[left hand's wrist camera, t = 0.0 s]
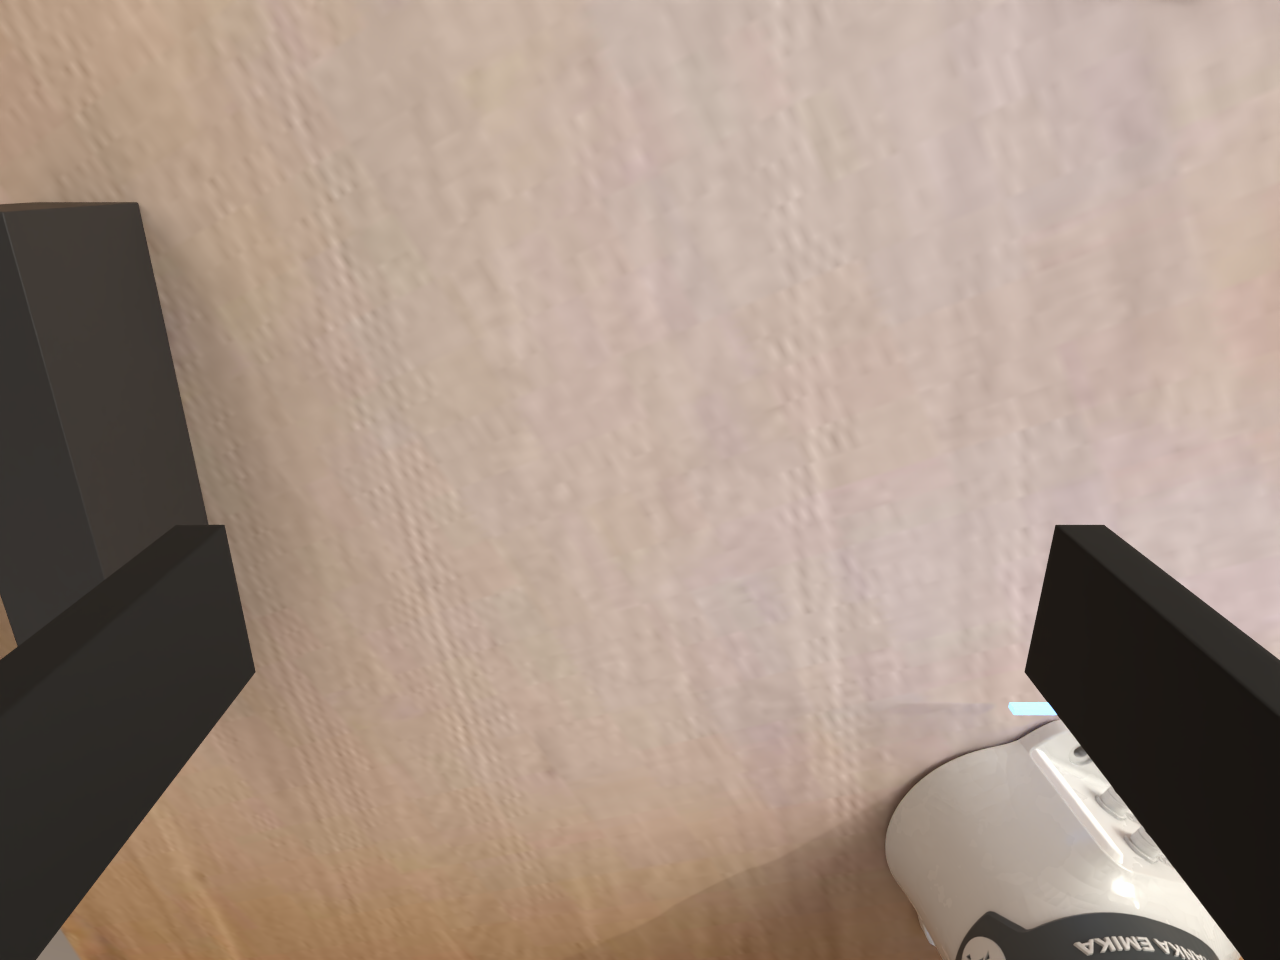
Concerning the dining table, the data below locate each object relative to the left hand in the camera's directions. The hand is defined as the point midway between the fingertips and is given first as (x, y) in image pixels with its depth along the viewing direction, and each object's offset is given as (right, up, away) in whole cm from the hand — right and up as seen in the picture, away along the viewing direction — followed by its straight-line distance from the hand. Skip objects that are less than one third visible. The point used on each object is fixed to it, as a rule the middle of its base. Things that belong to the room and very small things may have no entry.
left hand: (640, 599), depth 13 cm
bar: (-26, +3, +29) cm, 39 cm away
